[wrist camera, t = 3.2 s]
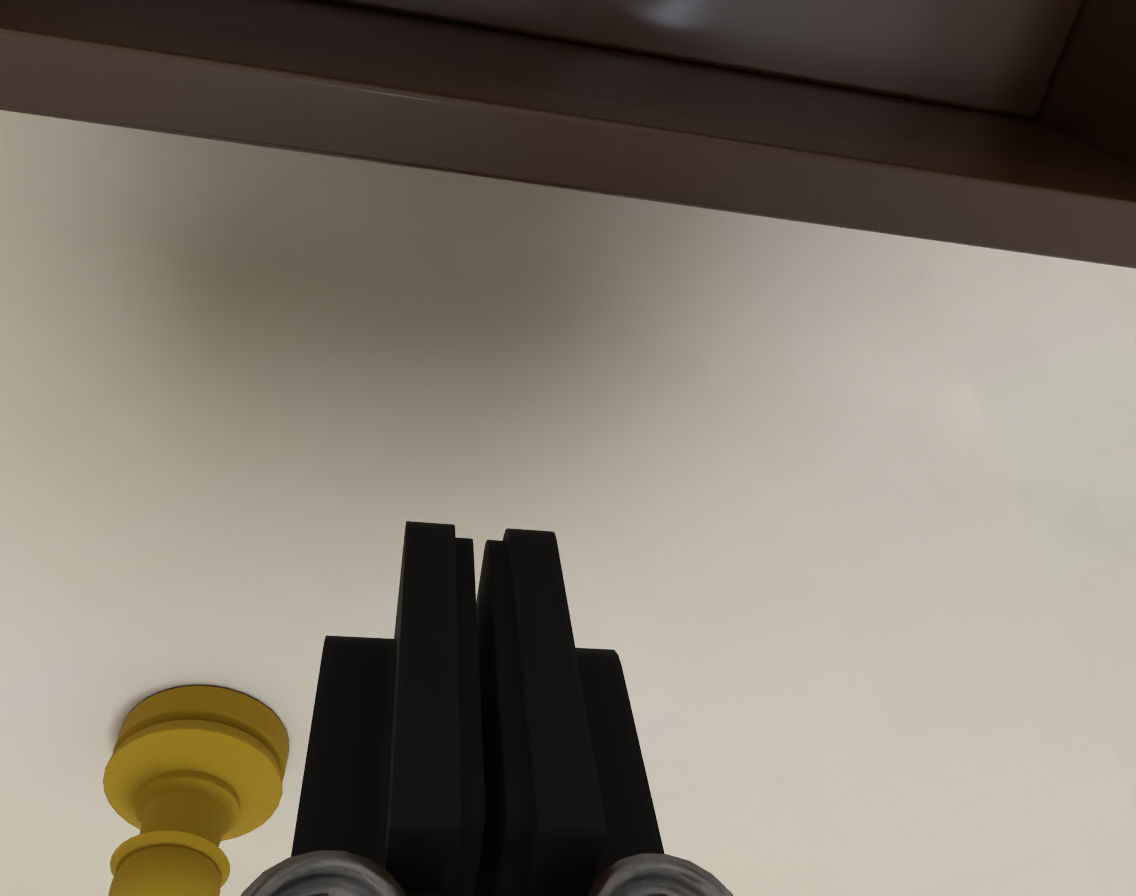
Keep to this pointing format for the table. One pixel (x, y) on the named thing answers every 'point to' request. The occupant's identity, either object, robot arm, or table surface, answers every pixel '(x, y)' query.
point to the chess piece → (191, 787)
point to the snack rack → (647, 100)
